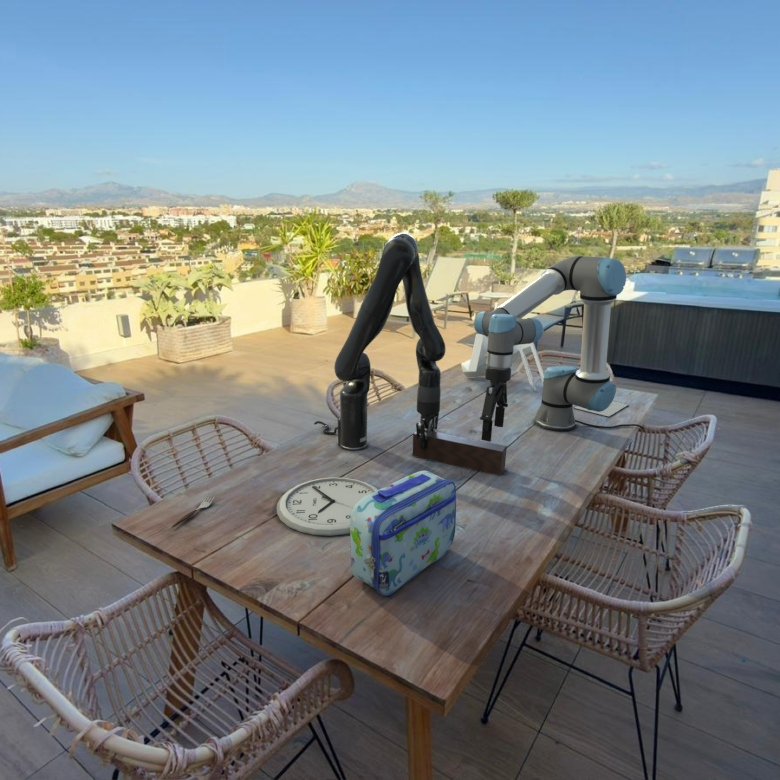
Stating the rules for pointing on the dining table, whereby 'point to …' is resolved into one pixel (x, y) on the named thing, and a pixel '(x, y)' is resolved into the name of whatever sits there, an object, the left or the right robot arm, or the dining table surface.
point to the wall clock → (322, 505)
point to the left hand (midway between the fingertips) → (426, 446)
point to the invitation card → (607, 409)
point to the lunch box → (402, 530)
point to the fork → (203, 505)
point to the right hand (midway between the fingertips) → (492, 433)
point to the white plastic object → (478, 359)
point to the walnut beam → (462, 452)
